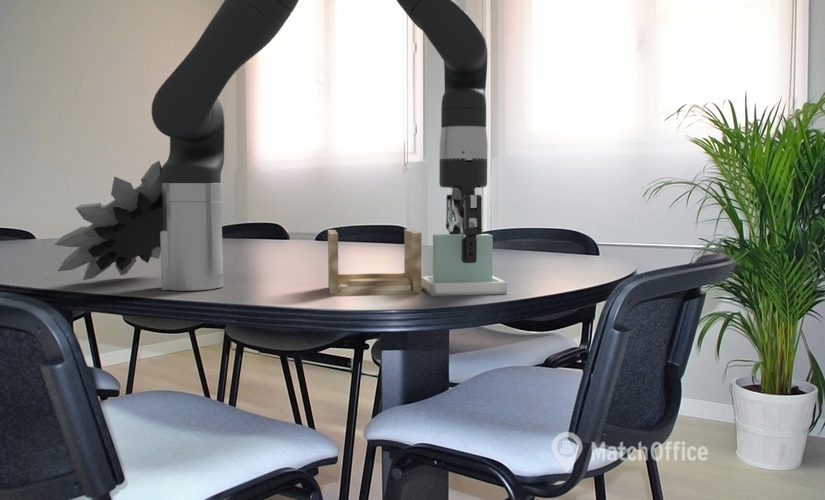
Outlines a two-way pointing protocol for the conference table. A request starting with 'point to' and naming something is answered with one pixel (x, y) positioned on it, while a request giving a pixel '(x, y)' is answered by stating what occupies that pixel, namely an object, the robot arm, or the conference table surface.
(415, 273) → the rack
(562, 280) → the conference table surface
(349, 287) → the offcut stack
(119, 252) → the decorative piece
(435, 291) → the tray
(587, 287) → the conference table surface
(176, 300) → the conference table surface
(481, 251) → the sheet
